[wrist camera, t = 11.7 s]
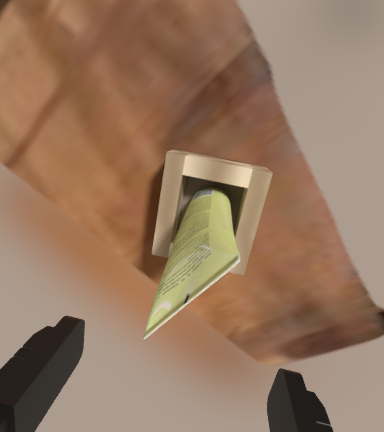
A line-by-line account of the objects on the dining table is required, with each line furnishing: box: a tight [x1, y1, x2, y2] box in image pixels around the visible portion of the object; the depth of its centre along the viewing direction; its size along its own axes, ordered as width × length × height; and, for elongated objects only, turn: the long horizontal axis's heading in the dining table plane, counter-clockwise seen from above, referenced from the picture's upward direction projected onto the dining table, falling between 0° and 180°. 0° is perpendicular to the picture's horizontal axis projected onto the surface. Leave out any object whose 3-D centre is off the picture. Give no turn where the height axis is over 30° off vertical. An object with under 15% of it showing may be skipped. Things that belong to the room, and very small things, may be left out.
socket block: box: [152, 149, 273, 275], centre depth 31 cm, size 11×12×5 cm
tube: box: [143, 187, 240, 340], centre depth 23 cm, size 6×5×20 cm
